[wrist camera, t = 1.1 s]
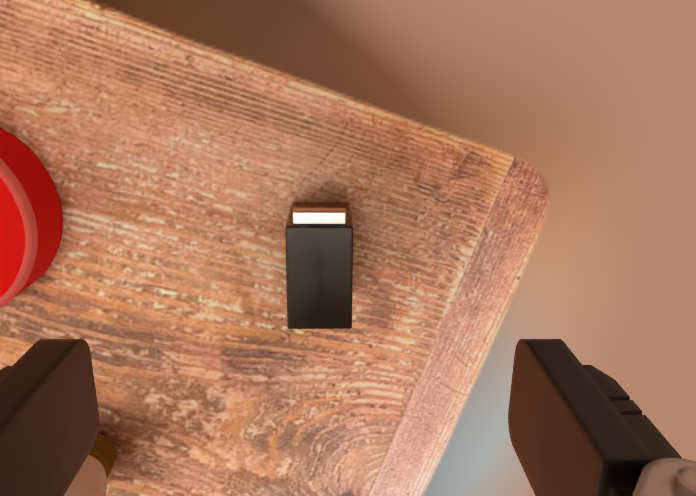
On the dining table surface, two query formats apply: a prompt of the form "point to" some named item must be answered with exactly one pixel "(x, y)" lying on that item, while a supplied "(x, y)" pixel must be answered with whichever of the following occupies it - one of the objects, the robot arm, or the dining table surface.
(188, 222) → the dining table surface
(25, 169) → the decorative ornament
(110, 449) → the light bulb
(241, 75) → the dining table surface
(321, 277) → the black usb flash drive
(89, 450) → the robot arm
